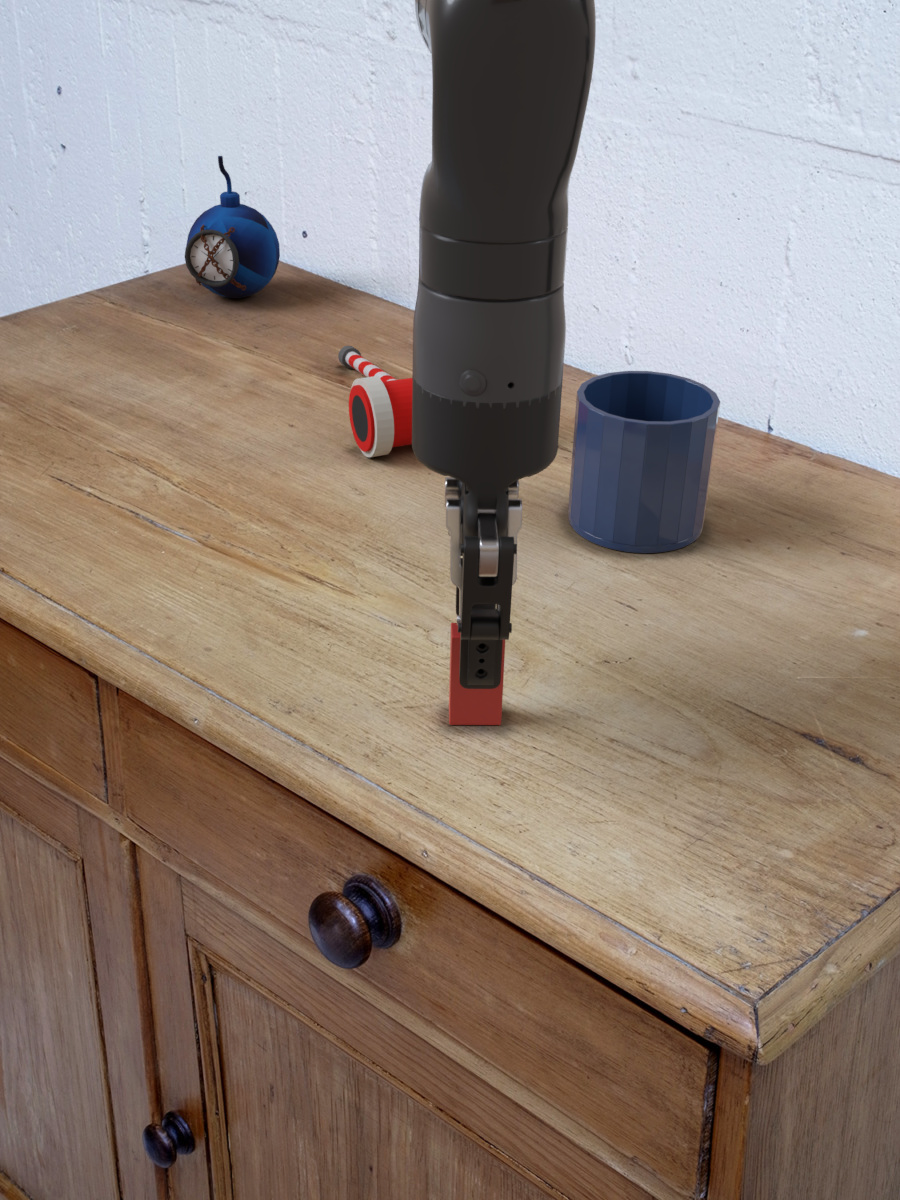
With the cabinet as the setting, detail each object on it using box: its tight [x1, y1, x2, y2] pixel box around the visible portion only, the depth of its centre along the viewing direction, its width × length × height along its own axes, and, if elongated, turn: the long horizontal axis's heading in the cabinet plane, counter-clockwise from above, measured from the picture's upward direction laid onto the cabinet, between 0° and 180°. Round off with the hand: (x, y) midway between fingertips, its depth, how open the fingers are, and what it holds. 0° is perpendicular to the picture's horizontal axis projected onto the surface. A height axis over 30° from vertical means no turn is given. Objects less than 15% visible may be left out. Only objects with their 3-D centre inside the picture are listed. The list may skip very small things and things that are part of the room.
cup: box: [567, 370, 721, 554], centre depth 96 cm, size 10×10×10 cm
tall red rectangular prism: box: [448, 604, 506, 726], centre depth 74 cm, size 3×2×9 cm, turn 91°
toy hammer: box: [337, 345, 413, 458], centre depth 114 cm, size 23×12×6 cm, turn 24°
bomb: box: [184, 155, 281, 299], centre depth 138 cm, size 10×11×15 cm
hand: (476, 648), depth 74 cm, fingers open, 6 cm apart
